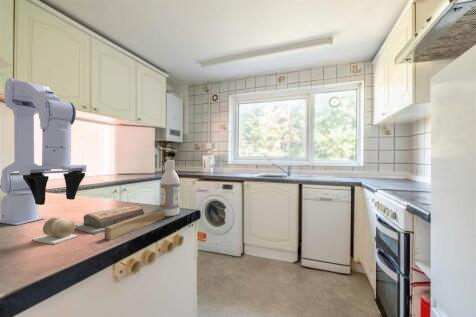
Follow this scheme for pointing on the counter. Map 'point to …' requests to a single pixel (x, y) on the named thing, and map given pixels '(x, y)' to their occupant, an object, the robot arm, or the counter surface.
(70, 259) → the counter surface
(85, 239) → the counter surface
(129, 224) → the rail
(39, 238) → the felt mat
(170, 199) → the bath foam
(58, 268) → the counter surface
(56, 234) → the roller
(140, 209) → the packaged product
